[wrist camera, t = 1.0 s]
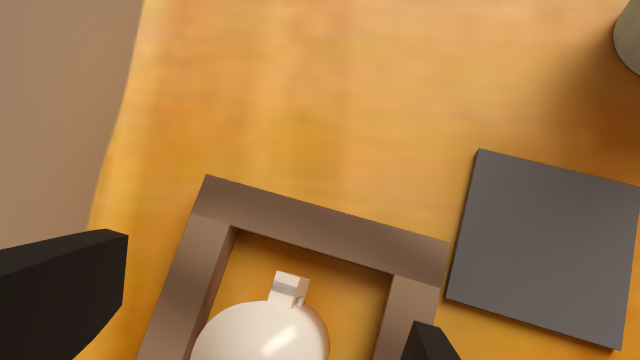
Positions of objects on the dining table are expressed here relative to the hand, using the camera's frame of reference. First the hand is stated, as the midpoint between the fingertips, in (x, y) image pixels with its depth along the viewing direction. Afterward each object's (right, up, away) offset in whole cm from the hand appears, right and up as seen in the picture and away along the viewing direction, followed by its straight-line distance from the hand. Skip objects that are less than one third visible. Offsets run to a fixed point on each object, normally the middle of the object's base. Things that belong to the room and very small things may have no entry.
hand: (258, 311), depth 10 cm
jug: (0, -5, +11) cm, 12 cm away
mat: (+13, 0, +11) cm, 17 cm away
